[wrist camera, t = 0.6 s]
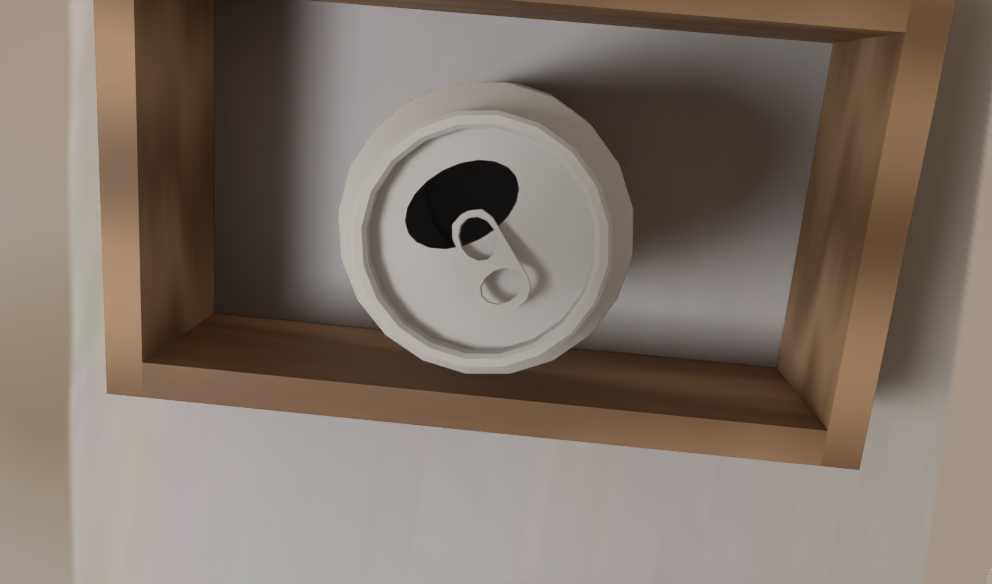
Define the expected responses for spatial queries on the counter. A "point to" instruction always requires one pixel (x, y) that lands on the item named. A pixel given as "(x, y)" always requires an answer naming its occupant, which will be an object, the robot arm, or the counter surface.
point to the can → (486, 227)
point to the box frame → (577, 372)
